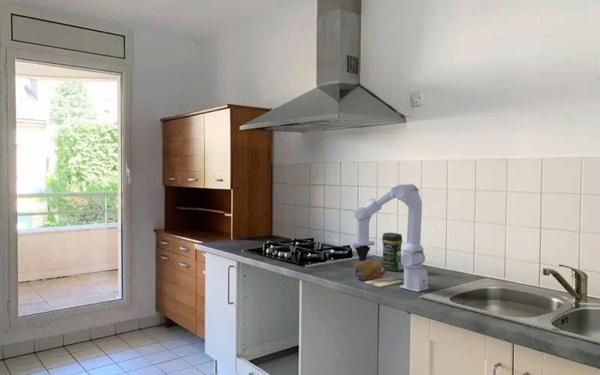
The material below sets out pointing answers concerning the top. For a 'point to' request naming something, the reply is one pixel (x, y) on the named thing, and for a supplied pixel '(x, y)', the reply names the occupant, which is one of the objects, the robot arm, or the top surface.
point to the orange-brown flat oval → (369, 270)
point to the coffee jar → (392, 251)
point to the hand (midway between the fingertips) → (362, 262)
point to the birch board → (383, 281)
